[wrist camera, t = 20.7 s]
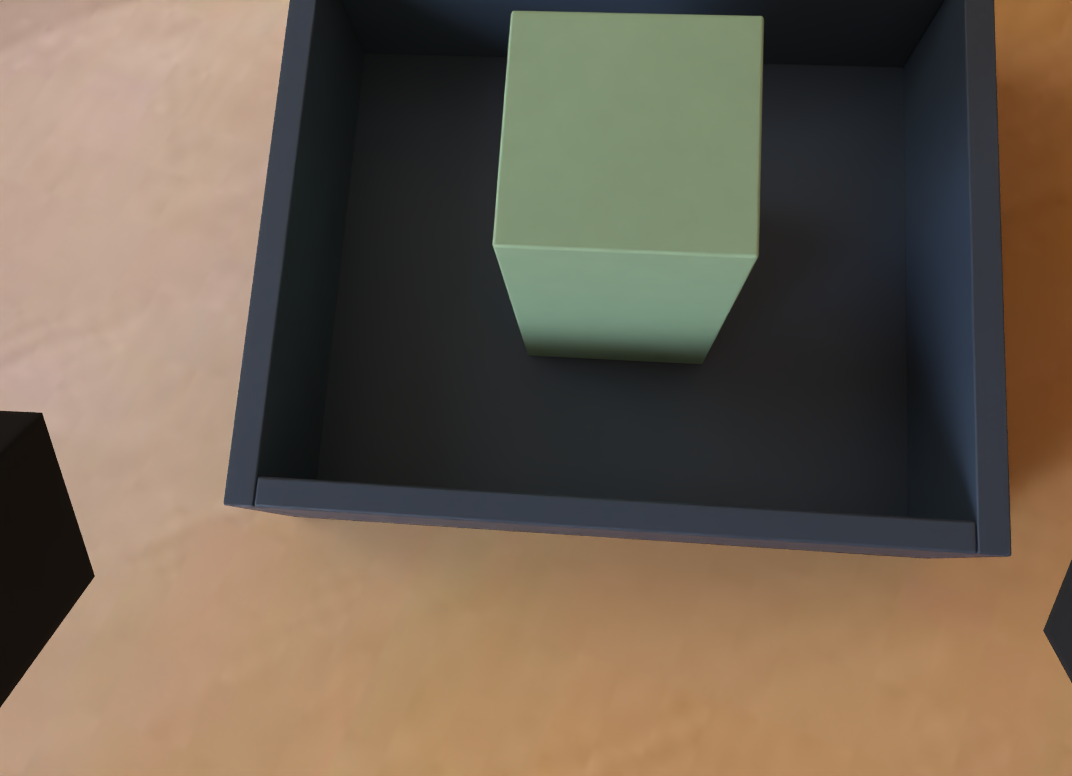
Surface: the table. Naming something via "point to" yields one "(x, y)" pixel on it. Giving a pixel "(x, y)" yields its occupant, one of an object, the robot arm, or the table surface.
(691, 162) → the block
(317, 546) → the table surface
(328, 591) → the table surface
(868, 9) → the bin
